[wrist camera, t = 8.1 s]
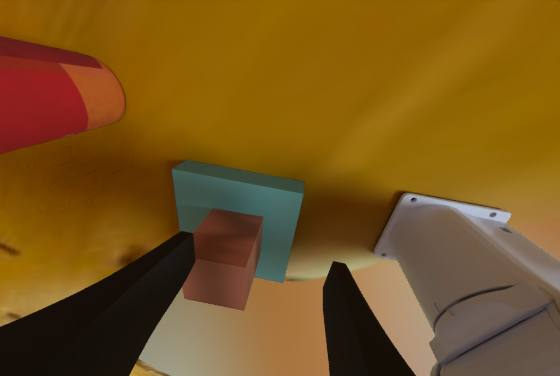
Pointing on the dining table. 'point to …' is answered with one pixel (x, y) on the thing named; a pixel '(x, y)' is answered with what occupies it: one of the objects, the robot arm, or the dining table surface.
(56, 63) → the paper cup
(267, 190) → the teal base board
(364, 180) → the dining table surface
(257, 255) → the red wood block
